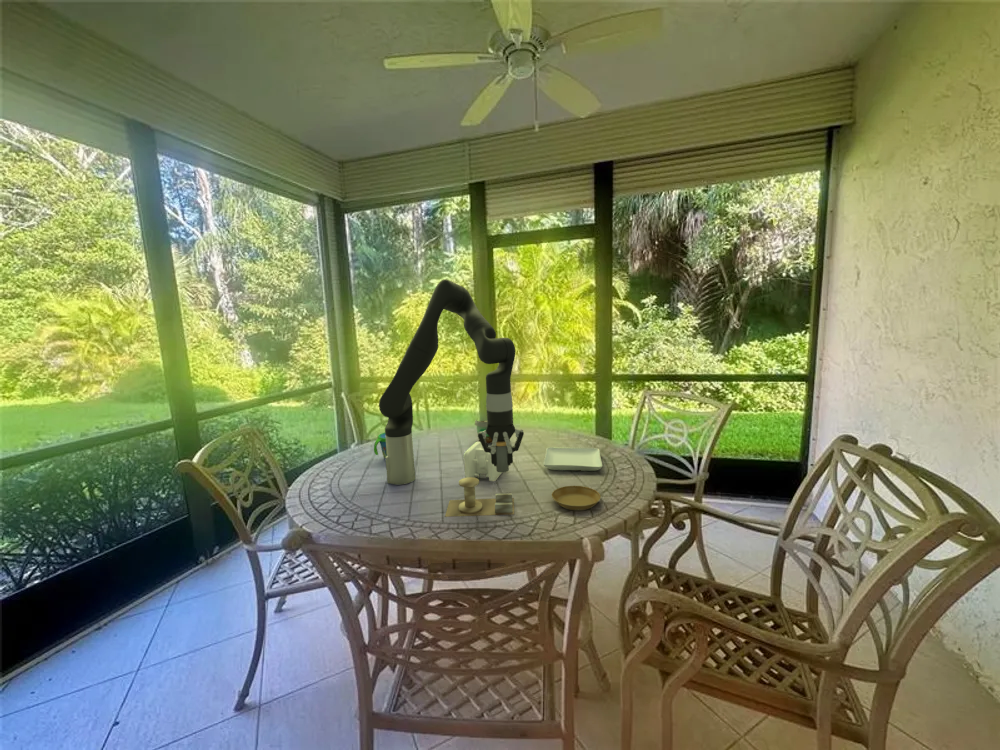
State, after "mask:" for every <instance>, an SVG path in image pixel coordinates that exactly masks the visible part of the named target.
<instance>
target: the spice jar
mask: <svg viewBox="0 0 1000 750" xmlns="http://www.w3.org/2000/svg"><path fill="white" fill-rule="evenodd" d="M495 450H496V470H497V472H502V473H507V472H508V471H510V470H509V469H510V468H509V466H508V449H507V446H506V442H505V441H502V442H496V449H495Z"/></svg>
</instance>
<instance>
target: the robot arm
mask: <svg viewBox="0 0 1000 750" xmlns="http://www.w3.org/2000/svg"><path fill="white" fill-rule="evenodd" d="M444 310H445V311H448V312H451V313H453V314H456V315H458V316H460V317H461V318H462V319H463V328H464V329H465V332H466V334H467V335H468V336H469V338H470V339H471V341H473V343H474V345H475V346H474V347H475V349H476V351H477V356H478V358H479V360H480V361H481V362H482V363H484V364H486V365H495V364H498V365H497V367H496V369H495V370H492V371H490V372H488V373H486V375H485V388H486V389H485V390H486V391H485V392H486V398H485V403H486V404H485V408H486V420H487V428H486V430H485V431H482V432H479V433H478V432H477V437H478V438H479V439H478V441H479V440H480V442H481V444H482V447H483V449H484V451H485V452H489V453H491V462H492V464H494V466H496V452H495V449H496V442H502V441H505V442H506V446H507V449H508V466H511V464H513V463H514V458H513V457H514V456H513V455H514V452H518V451H519V449H520V446H521V443H522V440H523V438H524V435H525V434H524V430H523V429H517V428H516V427H515V425H514V412H513V410H514V409H513V408H514V407H513V406H514V404H513V396H512V387H511V385H512V384H511V381H512V380H511V377H512V372H513V366H514V363H515V360H516V359H515V358H516V346H515V343H514V342H513V340H512V339H511V338H509V337H497V334H496V330H495V328H494V327H493V326H492V325H491V324H490V323H489V321H488V320H487V319H486V318H485V317H484V316H483V314H482V313H481V311H480V310H479V308H478V307H477V305H476V303H475V301H474V300H473V298H472V296H471V293H470V292H469V291H468V289H466V287H464V286H463V285H460V284H458V283H456V282H454V281H451V280H449V279H447V278H446V279H445V278H444V279H441V280H440V281H439V282H438V283H437V285H436V286H435V288H434V290H433V293H432V295H431V297H430V300H429V302H428V305H427V307H426V309H425V312H424V314H423V317H422V318H421V321H420V323H419V326H418V327H417V329H416V331H415V333H414V335H413V337H412V339H411V340H410V342H409V344H408V346H407V349H406V350H405V352H404V355H403V357H402V358H401V361H400V363H399V364H398V367H397V370H396V372H395V374H394V376H393V378H392V380H391V381H390V383H389V384H388V386H386V389H385V391H384V392H383V394H382V395H381V396H380V399H379V402H378V407H379V411H380V413H381V415H383V416H384V417H385V418H388V420H387V423H386V425H385V427H384V433H385V437H386V448H387V457H386V460H385V468H386V470H385V471H386V479H387V484H392V485H398V486H399V485H406V484H410V483H412V482H413V481H415V480H416V469H415V458H414V456H415V455H414V444H413V442H414V441H413V431H412V429H413V424H414V416H413V415H414V414H413V411H414V409H413V407H414V406H413V400H412V396H411V394H410V393H411V391H412V389H413V387H414V385H416V383H417V382H418V381H419V380H420V379H421V378H422V376H423V374H424V373H425V372H426V371H427V370H428V368H429V366H430V365H431V363H432V362H433V360H434V358H435V357H436V356H435V355H436V354H437V352H438V348H439V333H438V325H439V320H440V317H441V316H442V313H443V311H444ZM496 337H497V338H496ZM486 434H488V435H489V437H490V438H491V439H492V440H493V441H492V443H491V446H489V445H488V444H489V443H487V442H486V440H485V438H486ZM514 434H515V438H516V440H515V443H514V445H512V443H511V438H512V437H513V436H514Z"/></svg>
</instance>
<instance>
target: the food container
mask: <svg viewBox="0 0 1000 750" xmlns="http://www.w3.org/2000/svg"><path fill="white" fill-rule="evenodd" d="M474 425H475V426H476V431H477V432H476V433H477V434H478V433H479V432H482V431H485V430H486V428H487V419H485V420H477V419H475V420H474ZM485 440H486V442H487V444H492V441H493V440H492V439H491V438H490V437H489V435H488V434H486V438H485ZM478 442H480V440H479V438H478Z"/></svg>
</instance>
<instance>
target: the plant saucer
mask: <svg viewBox="0 0 1000 750" xmlns="http://www.w3.org/2000/svg"><path fill="white" fill-rule="evenodd" d="M551 498H552V499H553V500H554V502H555V503H556V504H558V505H559V506H560V507H562V508H564V509H566V510H569V511H585V510H589V509H591V508H593V507H595V505H597V504H598V503H599V502H600V500H601V494H600V493H599V492H598V491H597V490H596V489H594V488H592V487H587V486H583V485H566V486H561V487H557V488H556V489H554V490H553V491H552V492H551Z"/></svg>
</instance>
